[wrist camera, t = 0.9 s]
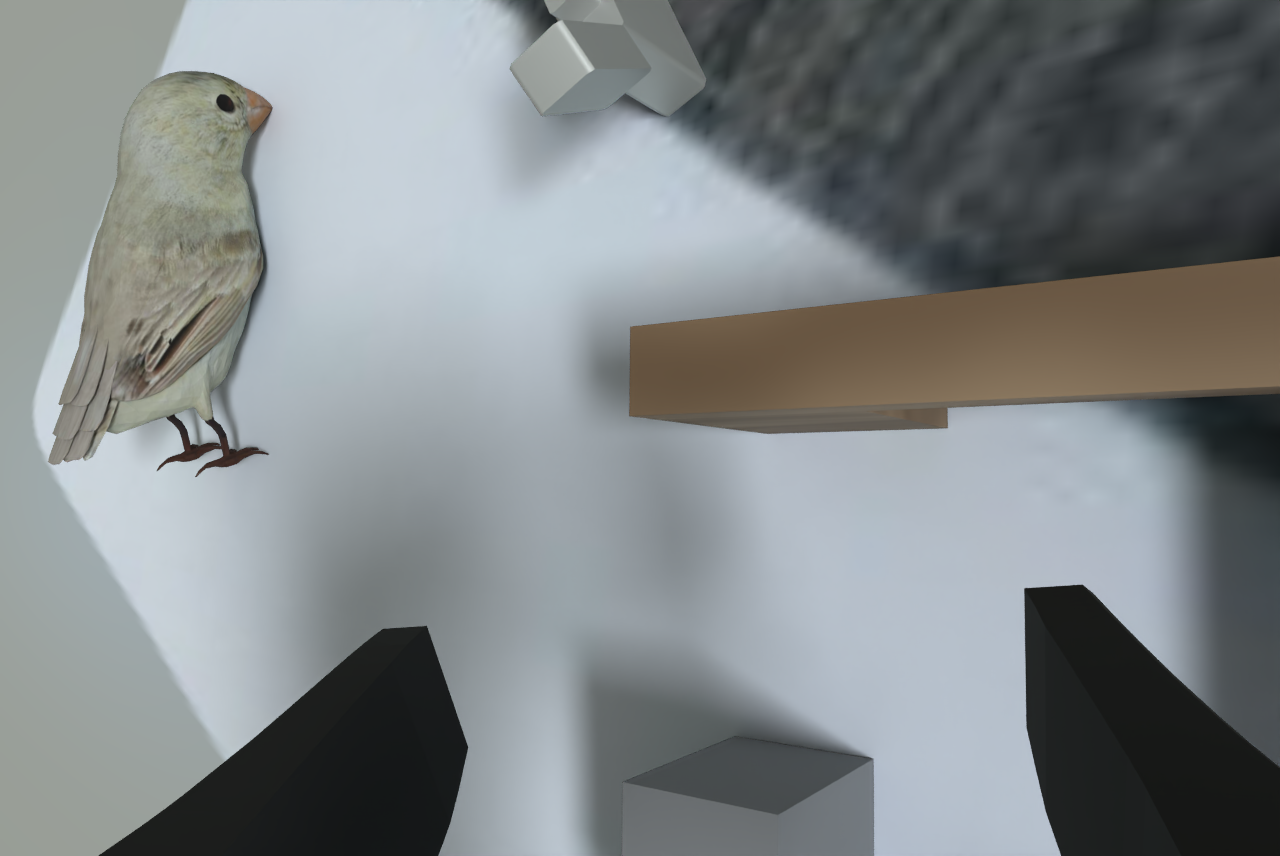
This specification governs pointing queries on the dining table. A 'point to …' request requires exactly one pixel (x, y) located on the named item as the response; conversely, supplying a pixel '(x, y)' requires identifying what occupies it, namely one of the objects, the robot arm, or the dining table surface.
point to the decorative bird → (168, 269)
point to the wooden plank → (967, 352)
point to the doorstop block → (751, 803)
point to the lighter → (609, 58)
